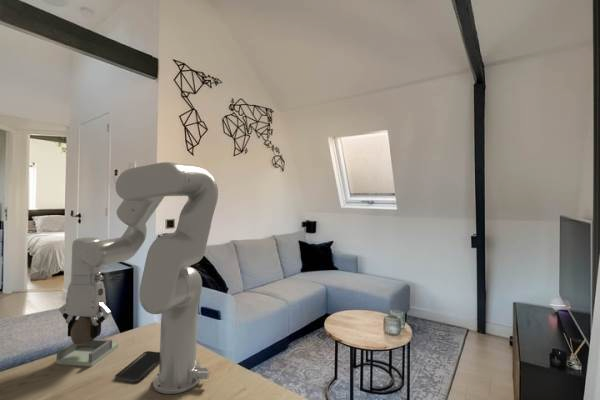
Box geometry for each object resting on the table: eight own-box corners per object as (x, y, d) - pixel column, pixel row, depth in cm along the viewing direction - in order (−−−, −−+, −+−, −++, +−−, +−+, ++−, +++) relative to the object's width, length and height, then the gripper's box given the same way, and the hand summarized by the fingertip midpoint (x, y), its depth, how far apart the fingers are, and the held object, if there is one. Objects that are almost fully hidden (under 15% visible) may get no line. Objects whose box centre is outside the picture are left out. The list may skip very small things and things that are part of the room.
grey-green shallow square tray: (117, 346, 105) (118, 335, 105) (91, 366, 93) (92, 354, 93) (86, 344, 106) (86, 333, 106) (56, 363, 94) (56, 351, 94)
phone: (112, 377, 87) (146, 350, 102) (112, 381, 87) (146, 354, 102) (139, 380, 86) (169, 353, 101) (138, 385, 86) (168, 356, 101)
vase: (83, 349, 93) (84, 320, 93) (64, 346, 95) (65, 317, 94) (102, 339, 100) (103, 311, 100) (84, 336, 101) (85, 309, 101)
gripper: (121, 277, 100) (118, 332, 101) (69, 273, 101) (67, 328, 102) (104, 284, 93) (102, 344, 93) (48, 279, 94) (47, 338, 94)
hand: (84, 335), depth 97 cm, fingers closed on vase, 6 cm apart
